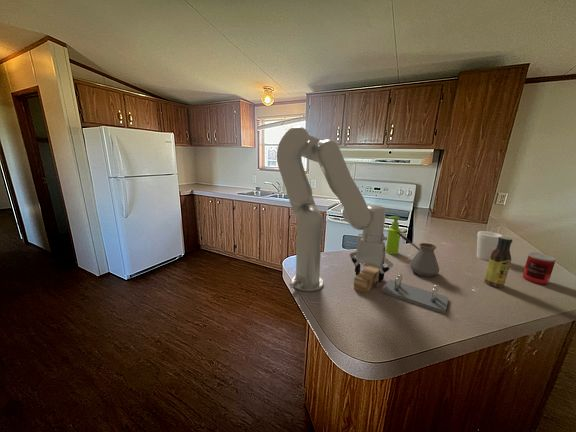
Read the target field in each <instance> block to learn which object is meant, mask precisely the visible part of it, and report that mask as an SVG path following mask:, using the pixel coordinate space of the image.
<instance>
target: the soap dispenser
mask: <svg viewBox="0 0 576 432" xmlns="http://www.w3.org/2000/svg"><path fill="white" fill-rule="evenodd" d="M387 218H388V219H390V220H391V219H393V222H391V227H389V228H388V233H387V240H386V246H385V253H387V254H389V255H392V256H393V255H398V253H399V246H400V240H401V239H400V238H401V236H400V235H399V234H397V233H396V232H399V233H400V234H402V233H401V231H402V230H401V229H400V228H399V225H400V224H399V222H398V220H399V219H400V216H398V215H397V216H395V215H393V216H392V215H391V216H388V217H387ZM395 233H396V234H397V235H396V234H395Z"/></svg>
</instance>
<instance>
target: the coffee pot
mask: <svg viewBox="0 0 576 432" xmlns="http://www.w3.org/2000/svg"><path fill="white" fill-rule="evenodd" d="M396 233H397V234H399V235H400V238H402V240H404V241H406V242H407V243H409V244H410V245H411V246H413V247H414V248H415V249H417V250H418V251H417V253H416V254H415V255H414V257H413V258H412V260H411V261H410V262H409V266H410V269H412V271H413V272H414V273H415V274H417V275H419V276H421V277H429V278H430V277H433V276H434V275H435V276H436V275H437V274H438V273H439V272H440V266H439V263H438V261H437V257H436V254H435V250H436V249H437V246H436V244H432V243H427V242H422V243H421V242H420V243H419V244H418V245H419V247H418V246H417V245H416V244H415V243H413V242H412V241H411V240H410V239H408V238H407V237H406V236H404V235H403V234H402V233H399V232H396ZM396 233H395V234H396ZM397 234H396V235H397Z"/></svg>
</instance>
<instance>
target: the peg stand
mask: <svg viewBox="0 0 576 432" xmlns="http://www.w3.org/2000/svg"><path fill="white" fill-rule="evenodd" d="M394 279H395V280H392V279H389V280H388V281H387V283H386V284H385V285H384V288H383V289H382V294H384V295H388V296H390V297H394V298H397V299H399V300H402V301H405V302H408V303H411V304H414V305H417V306H420V307H423V308H425V309H428V310H432V311H434V312H437V313H441V314H443V315H446V312H447V307H448V301H449V297H448V296H445V295H442V294H439V290H440V289H439V288H440V285H439V284H436V283H434V284H433V286H432V290H431V291H429V290H426V289H424V288H419V287H417V286H412V285H409V284H407V283H403V282H402V279H403V275H402V274H400V273H398V274H397V275H396V276H395V278H394Z"/></svg>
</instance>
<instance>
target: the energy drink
mask: <svg viewBox="0 0 576 432" xmlns="http://www.w3.org/2000/svg"><path fill="white" fill-rule="evenodd" d="M362 236H363V233H359V234H358V235H357V239H356V240H357V241H356V251H358V247H359V243H360V240H361V238H362ZM356 251H355V252H356ZM355 258H356V259H357V255H355Z"/></svg>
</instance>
